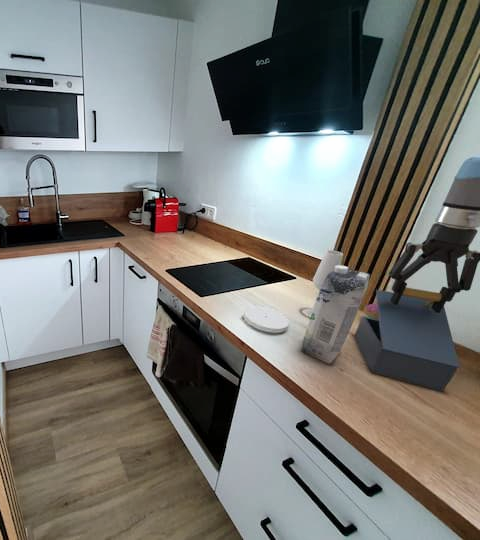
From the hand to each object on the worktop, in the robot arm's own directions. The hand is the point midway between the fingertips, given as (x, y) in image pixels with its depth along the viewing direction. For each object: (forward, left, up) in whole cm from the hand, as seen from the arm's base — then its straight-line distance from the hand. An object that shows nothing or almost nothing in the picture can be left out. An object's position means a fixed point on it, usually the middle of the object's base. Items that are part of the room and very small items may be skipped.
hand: (414, 306), depth 78 cm
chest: (0, +3, -17) cm, 17 cm away
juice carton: (+19, +9, -17) cm, 27 cm away
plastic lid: (+34, 0, -17) cm, 38 cm away
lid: (0, +3, -4) cm, 6 cm away
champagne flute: (+18, -15, -17) cm, 29 cm away
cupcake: (-1, -18, -17) cm, 25 cm away
